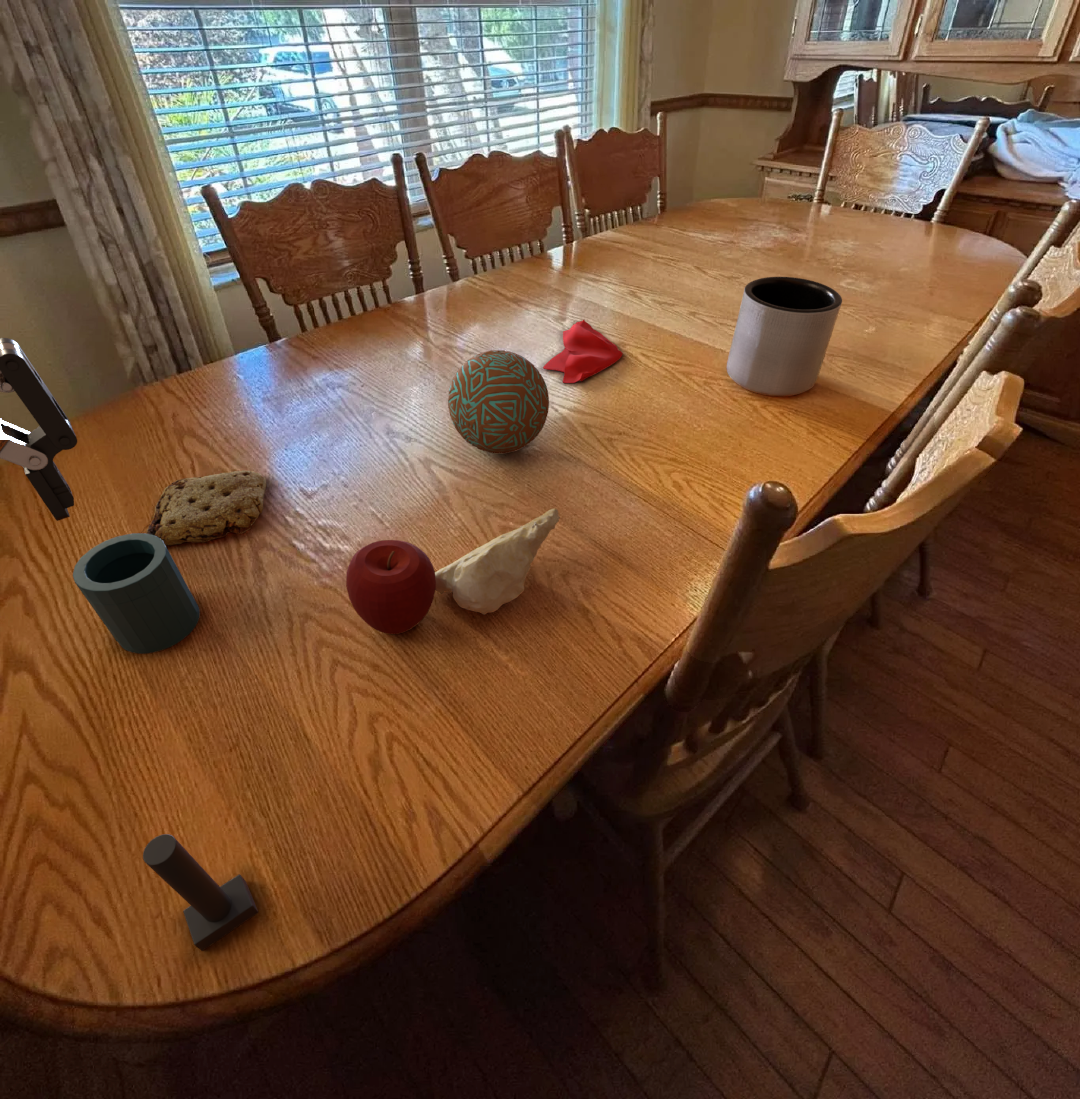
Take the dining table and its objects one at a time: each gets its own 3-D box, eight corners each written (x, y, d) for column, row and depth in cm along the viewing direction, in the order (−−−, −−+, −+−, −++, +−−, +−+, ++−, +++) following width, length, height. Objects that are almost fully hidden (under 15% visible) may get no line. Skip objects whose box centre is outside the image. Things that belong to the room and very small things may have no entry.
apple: (406, 664, 68) (392, 601, 61) (339, 630, 71) (318, 567, 65) (457, 606, 74) (449, 544, 67) (392, 578, 77) (379, 515, 71)
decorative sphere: (566, 438, 100) (570, 349, 90) (510, 485, 91) (508, 392, 81) (491, 410, 107) (487, 324, 96) (432, 452, 97) (420, 361, 87)
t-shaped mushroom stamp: (201, 951, 48) (128, 891, 39) (190, 917, 50) (117, 851, 41) (258, 912, 50) (201, 846, 41) (245, 881, 52) (187, 811, 43)
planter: (807, 361, 121) (833, 278, 110) (822, 403, 109) (853, 315, 99) (722, 355, 122) (739, 272, 112) (727, 396, 111) (748, 308, 100)
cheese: (437, 649, 72) (539, 606, 64) (403, 594, 71) (502, 544, 63) (497, 592, 85) (587, 551, 77) (468, 545, 84) (557, 499, 76)
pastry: (303, 500, 88) (297, 483, 86) (194, 572, 78) (185, 555, 76) (224, 460, 95) (218, 443, 93) (114, 522, 85) (104, 505, 83)
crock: (127, 666, 67) (81, 604, 61) (109, 618, 72) (65, 555, 66) (210, 628, 71) (175, 565, 65) (187, 585, 76) (153, 522, 69)
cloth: (608, 389, 112) (609, 378, 111) (534, 378, 115) (534, 367, 113) (633, 330, 130) (634, 319, 129) (569, 322, 133) (569, 311, 132)
